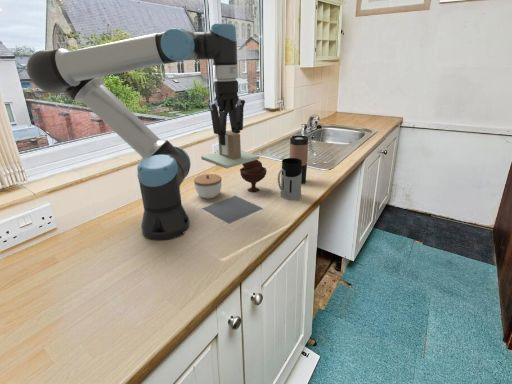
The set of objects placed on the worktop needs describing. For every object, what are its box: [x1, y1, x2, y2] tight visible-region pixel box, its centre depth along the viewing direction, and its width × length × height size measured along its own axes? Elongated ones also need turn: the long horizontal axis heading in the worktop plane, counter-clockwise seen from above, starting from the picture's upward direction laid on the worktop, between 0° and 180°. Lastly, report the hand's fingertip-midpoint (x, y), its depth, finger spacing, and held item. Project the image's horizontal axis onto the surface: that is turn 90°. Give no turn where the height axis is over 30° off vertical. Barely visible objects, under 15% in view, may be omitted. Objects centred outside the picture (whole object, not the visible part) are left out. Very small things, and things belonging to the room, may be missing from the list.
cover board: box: [200, 130, 260, 169], centre depth 106 cm, size 14×14×9 cm
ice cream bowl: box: [239, 159, 267, 194], centre depth 128 cm, size 11×11×15 cm
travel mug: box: [289, 134, 309, 185], centre depth 136 cm, size 8×8×20 cm
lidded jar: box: [193, 173, 222, 200], centre depth 125 cm, size 11×11×9 cm
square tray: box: [201, 195, 264, 224], centre depth 115 cm, size 16×16×1 cm
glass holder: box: [277, 157, 303, 202], centre depth 120 cm, size 9×14×15 cm, turn 146°
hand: (229, 152), depth 107 cm, fingers closed on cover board, 3 cm apart
